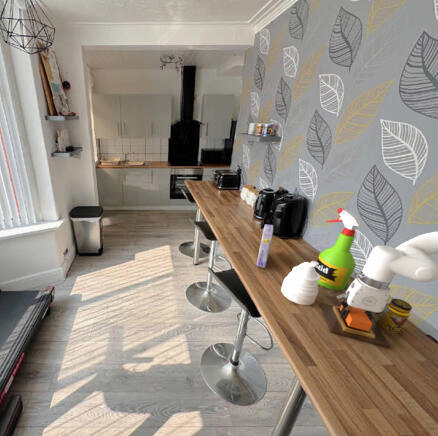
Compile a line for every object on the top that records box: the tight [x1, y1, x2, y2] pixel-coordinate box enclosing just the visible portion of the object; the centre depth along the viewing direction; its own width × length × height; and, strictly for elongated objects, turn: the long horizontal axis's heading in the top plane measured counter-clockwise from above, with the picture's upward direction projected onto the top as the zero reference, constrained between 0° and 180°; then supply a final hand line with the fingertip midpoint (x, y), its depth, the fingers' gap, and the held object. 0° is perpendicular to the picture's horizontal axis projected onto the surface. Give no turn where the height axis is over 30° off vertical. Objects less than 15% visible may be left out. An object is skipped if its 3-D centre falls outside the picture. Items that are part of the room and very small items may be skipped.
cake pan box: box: [255, 224, 274, 269], centre depth 126 cm, size 19×5×18 cm, turn 152°
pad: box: [340, 304, 373, 331], centre depth 87 cm, size 6×9×4 cm, turn 160°
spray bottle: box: [314, 207, 365, 291], centre depth 108 cm, size 14×18×35 cm
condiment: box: [377, 298, 413, 334], centre depth 87 cm, size 7×8×12 cm
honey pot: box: [280, 260, 320, 306], centre depth 100 cm, size 13×13×18 cm
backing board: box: [319, 302, 391, 349], centre depth 89 cm, size 17×15×2 cm
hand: (354, 318), depth 88 cm, fingers closed on pad, 5 cm apart
